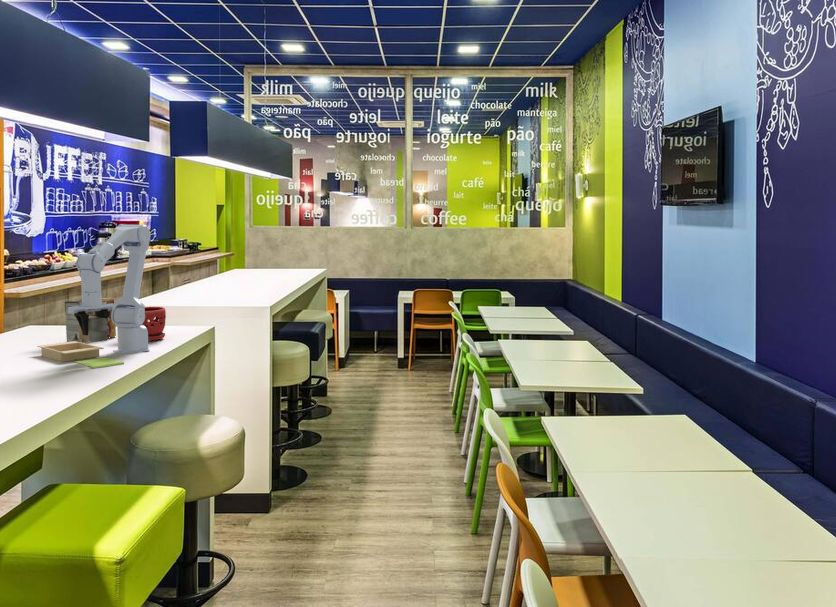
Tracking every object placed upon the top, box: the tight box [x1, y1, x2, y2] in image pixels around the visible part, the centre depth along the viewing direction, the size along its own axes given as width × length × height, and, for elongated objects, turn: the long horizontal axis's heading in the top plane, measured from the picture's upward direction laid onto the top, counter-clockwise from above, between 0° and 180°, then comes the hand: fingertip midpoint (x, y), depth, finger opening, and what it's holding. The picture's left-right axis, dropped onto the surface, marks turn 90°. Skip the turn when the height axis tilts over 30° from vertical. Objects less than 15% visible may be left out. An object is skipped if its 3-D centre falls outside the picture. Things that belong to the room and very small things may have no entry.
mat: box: [73, 357, 125, 370], centre depth 235 cm, size 10×12×1 cm
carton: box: [37, 341, 105, 363], centre depth 244 cm, size 13×19×4 cm
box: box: [79, 316, 108, 343], centre depth 235 cm, size 4×9×7 cm, turn 51°
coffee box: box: [64, 298, 96, 345], centre depth 269 cm, size 9×6×16 cm
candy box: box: [96, 297, 117, 339], centre depth 281 cm, size 9×4×15 cm, turn 141°
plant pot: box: [142, 306, 167, 342], centre depth 280 cm, size 13×13×12 cm
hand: (93, 334), depth 235 cm, fingers closed on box, 4 cm apart
